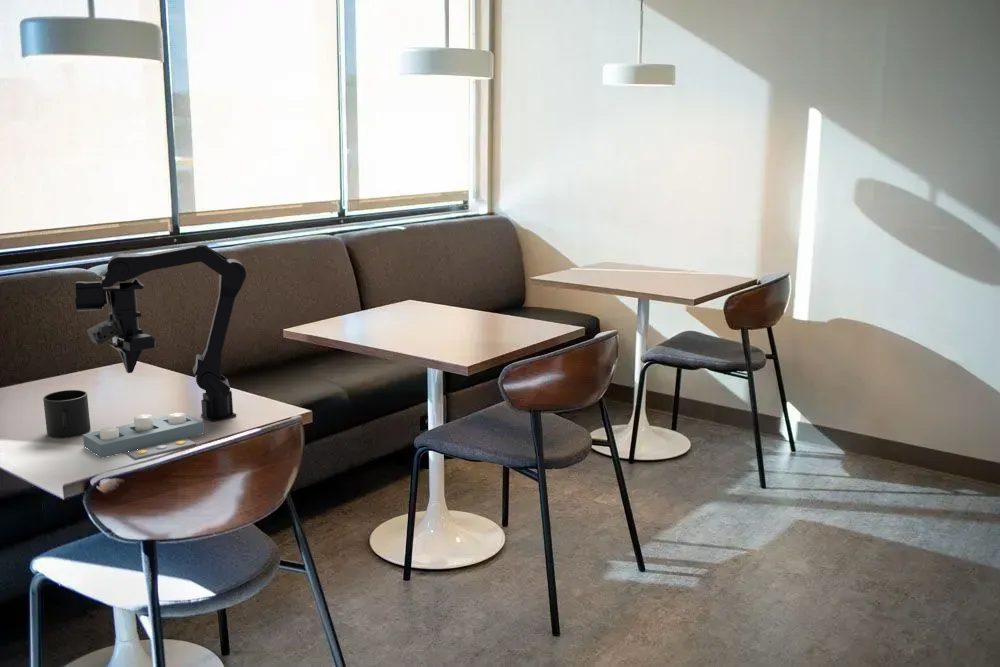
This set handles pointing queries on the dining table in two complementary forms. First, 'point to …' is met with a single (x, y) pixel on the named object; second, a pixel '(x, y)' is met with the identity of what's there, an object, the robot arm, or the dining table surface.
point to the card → (160, 448)
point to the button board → (143, 436)
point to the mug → (66, 413)
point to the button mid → (143, 423)
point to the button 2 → (176, 418)
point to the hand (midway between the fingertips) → (129, 372)
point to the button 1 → (109, 433)
